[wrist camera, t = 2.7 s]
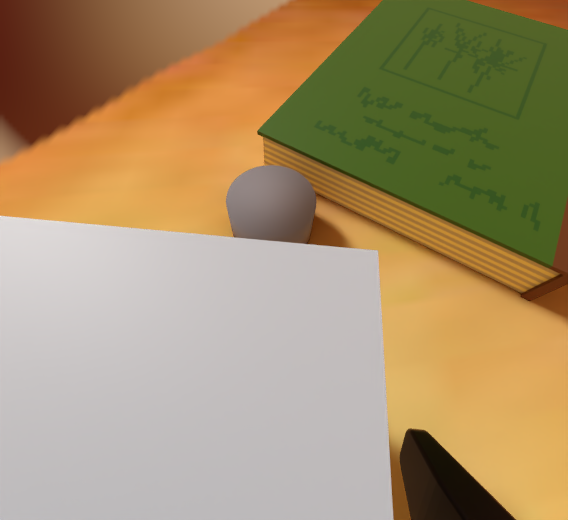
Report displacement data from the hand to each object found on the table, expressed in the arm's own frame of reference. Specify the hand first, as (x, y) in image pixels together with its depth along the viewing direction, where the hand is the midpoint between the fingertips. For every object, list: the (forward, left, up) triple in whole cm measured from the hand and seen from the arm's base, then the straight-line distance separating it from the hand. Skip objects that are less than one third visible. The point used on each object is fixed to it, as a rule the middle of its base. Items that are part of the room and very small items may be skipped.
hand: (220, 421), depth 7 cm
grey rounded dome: (+11, -2, -8) cm, 14 cm away
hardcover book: (+20, -16, -9) cm, 27 cm away
